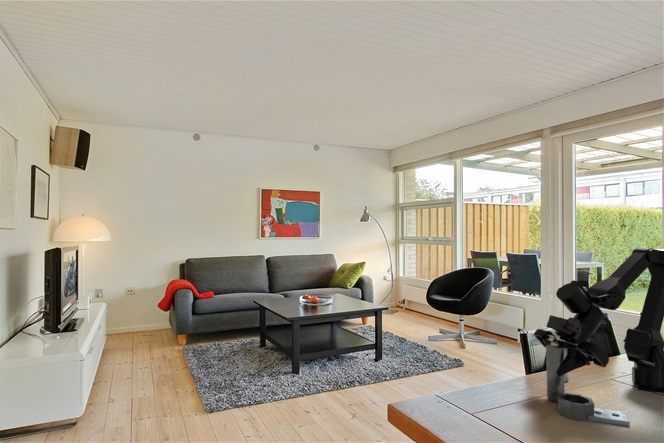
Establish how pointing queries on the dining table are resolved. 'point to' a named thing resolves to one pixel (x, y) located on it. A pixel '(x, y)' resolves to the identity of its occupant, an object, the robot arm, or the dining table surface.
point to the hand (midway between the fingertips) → (550, 372)
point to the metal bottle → (554, 370)
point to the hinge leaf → (588, 410)
